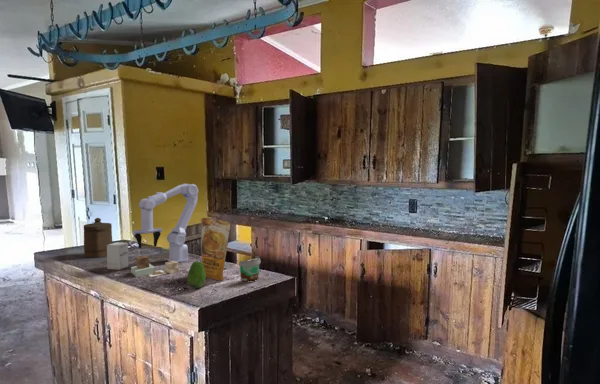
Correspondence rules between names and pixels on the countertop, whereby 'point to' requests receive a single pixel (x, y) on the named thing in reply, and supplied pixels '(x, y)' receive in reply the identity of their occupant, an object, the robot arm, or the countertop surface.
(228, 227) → the pancake mix bag
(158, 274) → the card
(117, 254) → the supplement box
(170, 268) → the beech block
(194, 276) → the avocado
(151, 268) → the plinth
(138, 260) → the walnut block
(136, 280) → the countertop surface
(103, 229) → the wooden container
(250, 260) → the food container
